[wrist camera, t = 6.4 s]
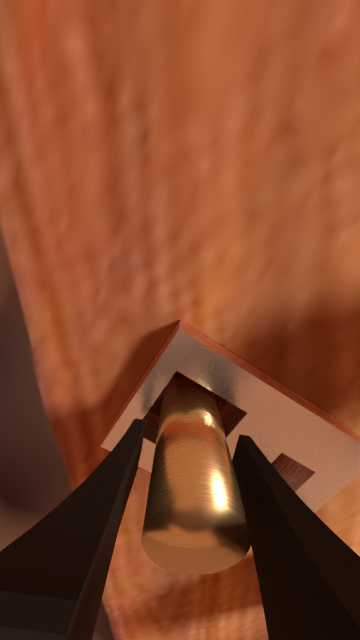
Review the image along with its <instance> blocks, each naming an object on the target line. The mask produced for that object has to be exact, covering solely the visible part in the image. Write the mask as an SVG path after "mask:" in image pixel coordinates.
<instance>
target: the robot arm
mask: <svg viewBox="0 0 360 640" xmlns="http://www.w3.org/2000/svg"><path fill="white" fill-rule="evenodd" d="M145 424H146V420H143V419H134V420H133V422H132V423H131V425H130V427H129V428H128V430H127V431H126V433H125V434H124V435H123V437H122V438H121V439H120V441H119V442H118V443H117V445H116V446H115V447H114V449H113V450H112V451H111V452H110V453H109V455H108V456H107V457H106V458H105V459H104V460H103V462H102V463H101V464H100V465H99V466H98V467H97V468H96V469H95V470H94V471H93V473H92V474H91V475H90V476H89V477H88V478H87V479H86V480H85V481H84V482H83V483H82V484H81V485H80V486H79V487H78V488H76V489H75V490H74V491H73V492H72V493H71V494H70V495H69V496H68V497H67V498H66V499H65V500H64V501H63V502H62V503H60V504H59V505H58V506H57V507H56V508H54V509H53V510H52V511H51V512H50V513H49V514H47V515H46V516H45V517H44V518H43V519H41V520H40V521H39V522H38V523H37V524H36V525H34V526H33V527H32V528H30V529H29V530H28V531H27V532H25V533H24V534H23V535H22V536H20V537H19V538H17V539H16V540H15V541H13V542H12V543H11V544H10V545H8V546H7V547H6V548H4V549H3V550H2V551H0V640H92V637H93V633H94V629H95V624H96V620H97V616H98V611H99V608H100V603H101V599H102V595H103V591H104V587H105V583H106V579H107V574H108V570H109V566H110V562H111V558H112V554H113V550H114V546H115V542H116V538H117V534H118V530H119V527H120V523H121V520H122V516H123V513H124V510H125V507H126V504H127V501H128V497H129V494H130V491H131V488H132V485H133V481H134V478H135V475H136V472H137V468H138V464H139V460H140V455H141V451H142V445H143V438H144V431H145ZM232 463H233V467H234V470H235V474H236V478H237V482H238V486H239V489H240V493H241V497H242V501H243V504H244V508H245V512H246V516H247V520H248V523H249V527H250V531H251V536H252V541H251V546H252V551H253V555H254V560H255V565H256V570H257V576H258V581H259V586H260V591H261V597H262V603H263V608H264V614H265V619H266V625H267V631H268V637H269V640H360V557H359V556H358V555H357V554H356V553H355V552H354V551H353V550H352V549H351V548H350V547H348V546H347V545H346V544H345V543H344V542H343V541H342V540H341V539H340V538H339V537H338V536H337V535H336V534H335V533H334V532H333V531H332V530H331V529H330V528H329V527H328V526H326V525H325V524H324V523H323V522H322V521H321V520H320V518H319V517H318V516H317V515H316V514H315V513H314V512H313V511H312V510H311V509H310V508H309V507H308V506H307V505H306V504H305V503H304V502H303V501H302V499H301V498H300V497H299V496H298V495H297V494H296V493H295V492H294V490H293V489H292V488H291V487H290V486H289V485H288V484H287V482H286V481H285V480H284V479H283V478H282V476H281V475H280V474H279V473H278V472H277V470H276V469H275V468H274V467H273V465H272V464H271V463H270V461H269V460H268V459H267V458H266V456H265V455H264V454H263V452H262V451H261V450H260V449H259V447H258V446H257V445H256V443H255V442H254V441H253V439H252V438H251V437H250V436H247V435H240V434H239V438H238V441H237V445H236V448H235V452H234V455H233V459H232Z"/></svg>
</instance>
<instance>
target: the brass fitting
mask: <svg viewBox="0 0 360 640" xmlns="http://www.w3.org/2000/svg"><path fill="white" fill-rule="evenodd" d="M251 541H252V536H251V531H250V527H249V523H248V520H247V516H246V512H245V508H244V504H243V501H242V497H241V493H240V489H239V486H238V482H237V478H236V474H235V470H234V467H233V463H232V459H231V455H230V452H229V448H228V444H227V440H226V437H225V433H224V429H223V425H222V421H221V418H220V414H219V410H218V406H217V403H216V399H215V395H214V393H213V392H212V391H210V390H208V389H207V388H205V387H203V386H202V385H200V384H198V383H197V382H195V381H193V380H192V379H190V378H188V377H186V376H185V375H181V376H178V377H176V378H174V379H172V380H171V381H170V382H169V383H168V384H167V385H166V387H165V389H164V392H163V398H162V405H161V412H160V418H159V425H158V432H157V438H156V445H155V452H154V459H153V465H152V472H151V479H150V485H149V492H148V499H147V505H146V512H145V519H144V525H143V532H142V545H143V548H144V550H145V552H146V554H147V555H148V556H149V557H150V559H152V560H153V561H154V562H155V563H156V564H158V565H159V566H161V567H163V568H165V569H167V570H170V571H173V572H176V573H181V574H187V575H205V574H212V573H216V572H220V571H223V570H225V569H228V568H230V567H232V566H234V565H235V564H237V563H238V562H239V561H240V560H242V559H243V557H244V556H245V555H246V554H247V552H248V551H249V548H250V546H251Z"/></svg>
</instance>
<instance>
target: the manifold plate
mask: <svg viewBox="0 0 360 640" xmlns="http://www.w3.org/2000/svg"><path fill="white" fill-rule="evenodd" d="M176 371H178V372H180V373H181V374H183V375H185V376H186V377H188V378H190V379H192V380H193V381H195V382H197V383H198V384H200V385H202V386H203V387H205V388H207V389H208V390H210V391H212V392H213V393H215V394H217V395H218V396H220V397H222V398H223V399H225V400H227V403H226V404H225V405H224V406H223V407H222V409H221V410H220V411H219V414H220V418H221V421H222V425H223V429H224V433H225V437H226V440H227V444H228V448H229V452H230V455H231V459H233V455H234V452H235V448H236V445H237V441H238V438H239V434H240V435H247V436H250V437H251V438H252V439H253V441H254V442H255V443H256V445H257V446H258V447H259V449H260V450H261V451H262V452H263V454H264V455H265V456H266V458H267V459H268V460H269V461H270V463H272V462H273V461H274V460H275V459H276V458H277V457H278V456H279V455H280V454H281V453H283V454H282V455H281V456H280V457H279V458H278V459H277V460H276V461H275V462H274V463H273V464H272V465H273V467H274V468H275V469H276V470H277V472H278V473H279V474H280V475H281V476H282V478H283V479H284V480H285V481H286V482H287V484H288V485H289V486H290V487H291V488H292V489H293V490H294V492H295V493H296V494H297V495H298V496H299V497H300V498H301V499H302V501H303V502H304V503H305V504H306V505H307V506H308V507H309V508H310V509H311V510H312V511H313V512H314V513H315V512H316V511H317V510H319V509H320V508H321V507H322V506H323V505H324V504H325V503H326V502H328V501H329V500H330V499H331V498H332V497H333V496H334V495H335V494H337V493H338V492H339V491H340V490H341V489H342V488H343V487H345V486H346V485H347V484H348V483H349V482H350V481H351V480H352V479H354V478H355V477H356V476H357V475H358V474H359V473H360V436H359V435H357V434H356V433H355V432H354V431H353V430H352V429H351V428H350V427H349V426H347V425H346V424H344V423H343V422H341V421H340V420H338V419H336V418H335V417H333V416H332V415H330V414H328V413H327V412H325V411H324V410H322V409H321V408H319V407H317V406H316V405H314V404H313V403H311V402H310V401H308V400H306V399H305V398H303V397H302V396H300V395H298V394H297V393H295V392H294V391H292V390H291V389H289V388H287V387H286V386H284V385H283V384H281V383H280V382H278V381H276V380H275V379H273V378H272V377H270V376H268V375H267V374H265V373H264V372H262V371H261V370H259V369H257V368H256V367H254V366H253V365H251V364H250V363H248V362H246V361H245V360H243V359H242V358H240V357H238V356H237V355H235V354H234V353H232V352H231V351H229V350H227V349H226V348H224V347H223V346H221V345H220V344H218V343H216V342H215V341H213V340H212V339H210V338H208V337H207V336H205V335H204V334H202V333H201V332H199V331H197V330H196V329H194V328H193V327H191V326H190V325H188V324H186V323H185V322H183V321H182V320H179V322H178V323H177V325H176V326H175V328H174V329H173V331H172V332H171V334H170V335H169V337H168V338H167V340H166V341H165V343H164V344H163V346H162V348H161V349H160V351H159V352H158V354H157V355H156V357H155V358H154V360H153V361H152V363H151V364H150V366H149V367H148V369H147V370H146V372H145V373H144V375H143V376H142V378H141V379H140V381H139V382H138V384H137V385H136V387H135V388H134V390H133V391H132V393H131V394H130V396H129V397H128V399H127V400H126V402H125V403H124V405H123V406H122V408H121V409H120V411H119V412H118V414H117V415H116V417H115V418H114V420H113V422H112V424H111V426H110V428H109V430H108V432H107V434H106V436H105V438H104V440H103V442H102V444H101V446H100V447H102V448H104V449H106V450H108V451H110V452H111V451H112V450H113V449H114V447H115V446H116V445H117V443H118V442H119V441H120V439H121V438H122V437H123V435H124V434H125V433H126V431H127V430H128V428H129V427H130V425H131V423H132V422H133V420H134V419H143V420H146V424H145V431H144V438H143V445H142V451H141V455H140V460H139V464H138V466H139V467H141V468H143V469H145V470H147V471H149V472H150V473H151V472H152V465H153V459H154V452H155V445H156V438H157V432H158V425H159V418H160V417H159V416H157V415H156V414H154V413H152V412H150V411H149V409H150V408H151V406H152V405H153V404H154V402H155V401H156V399H157V398H158V396H159V395H160V394H161V392H162V391H163V389H164V388H165V387H166V385H167V384H168V382H169V381H170V379H171V378H172V377H173V375H174V374H175V372H176Z"/></svg>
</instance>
